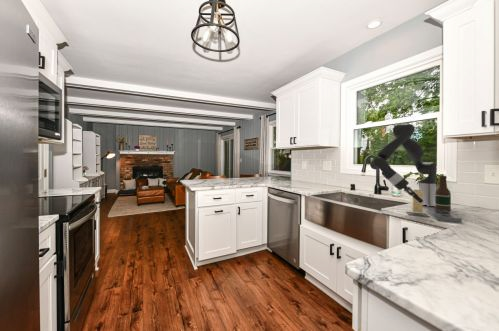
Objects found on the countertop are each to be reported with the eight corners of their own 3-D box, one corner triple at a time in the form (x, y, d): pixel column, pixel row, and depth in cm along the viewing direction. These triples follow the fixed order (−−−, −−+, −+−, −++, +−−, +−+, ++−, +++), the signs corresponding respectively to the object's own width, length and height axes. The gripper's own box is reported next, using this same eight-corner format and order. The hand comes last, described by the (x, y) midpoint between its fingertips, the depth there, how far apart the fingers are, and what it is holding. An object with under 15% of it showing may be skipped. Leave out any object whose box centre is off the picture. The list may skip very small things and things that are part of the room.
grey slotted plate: (426, 211, 143) (426, 208, 143) (446, 213, 138) (446, 209, 138) (437, 220, 120) (437, 216, 120) (461, 223, 115) (461, 218, 115)
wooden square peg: (411, 210, 138) (412, 189, 138) (420, 211, 136) (421, 189, 135) (413, 211, 134) (413, 190, 134) (422, 212, 132) (422, 190, 131)
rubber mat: (406, 212, 141) (406, 211, 141) (425, 213, 137) (425, 213, 137) (408, 215, 133) (408, 214, 133) (429, 217, 128) (429, 216, 128)
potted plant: (444, 210, 147) (444, 175, 147) (453, 212, 140) (454, 176, 140) (432, 210, 148) (432, 175, 148) (441, 212, 140) (441, 176, 140)
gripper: (404, 177, 132) (429, 199, 126) (401, 176, 144) (423, 196, 139) (394, 185, 134) (418, 207, 129) (391, 184, 147) (413, 203, 141)
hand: (420, 201), depth 134 cm, fingers closed on wooden square peg, 4 cm apart
